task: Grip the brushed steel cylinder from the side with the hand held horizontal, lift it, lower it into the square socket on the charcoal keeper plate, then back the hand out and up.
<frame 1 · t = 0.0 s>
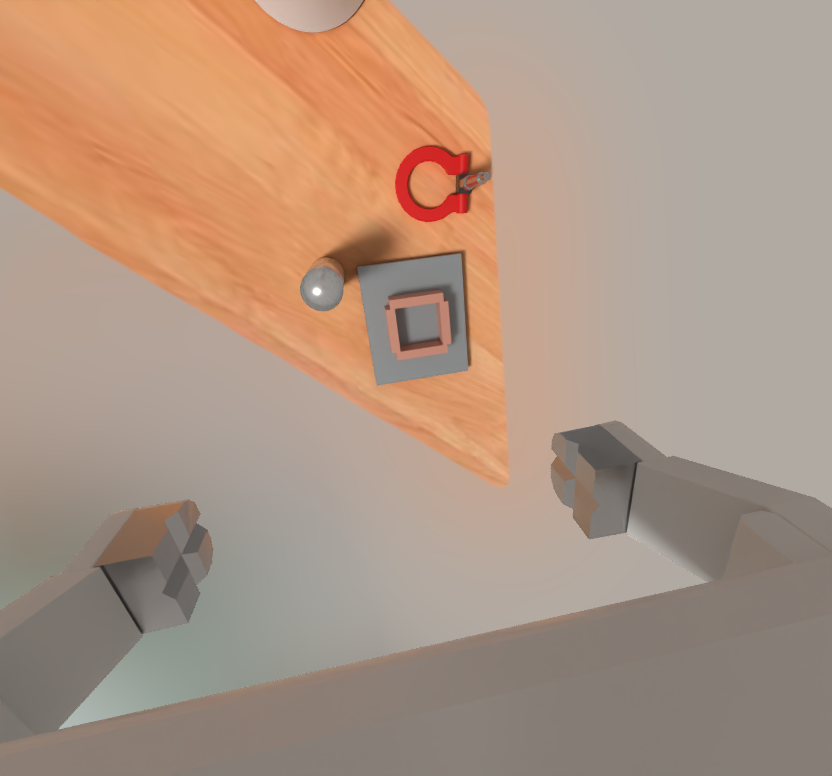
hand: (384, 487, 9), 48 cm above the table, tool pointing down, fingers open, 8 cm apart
brushed steel cylinder: (327, 274, 53), on the table
keeper: (415, 320, 57), on the table
tow hook: (431, 186, 51), on the table
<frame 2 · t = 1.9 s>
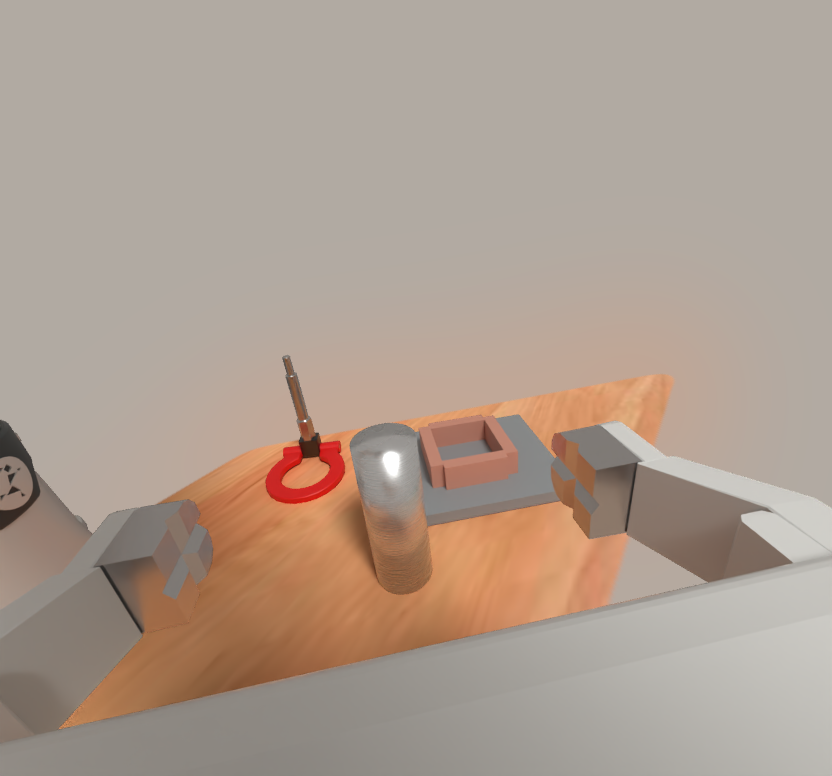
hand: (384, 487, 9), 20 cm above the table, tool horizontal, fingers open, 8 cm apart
brushed steel cylinder: (404, 569, 31), on the table
keeper: (466, 468, 42), on the table
tow hook: (308, 476, 44), on the table
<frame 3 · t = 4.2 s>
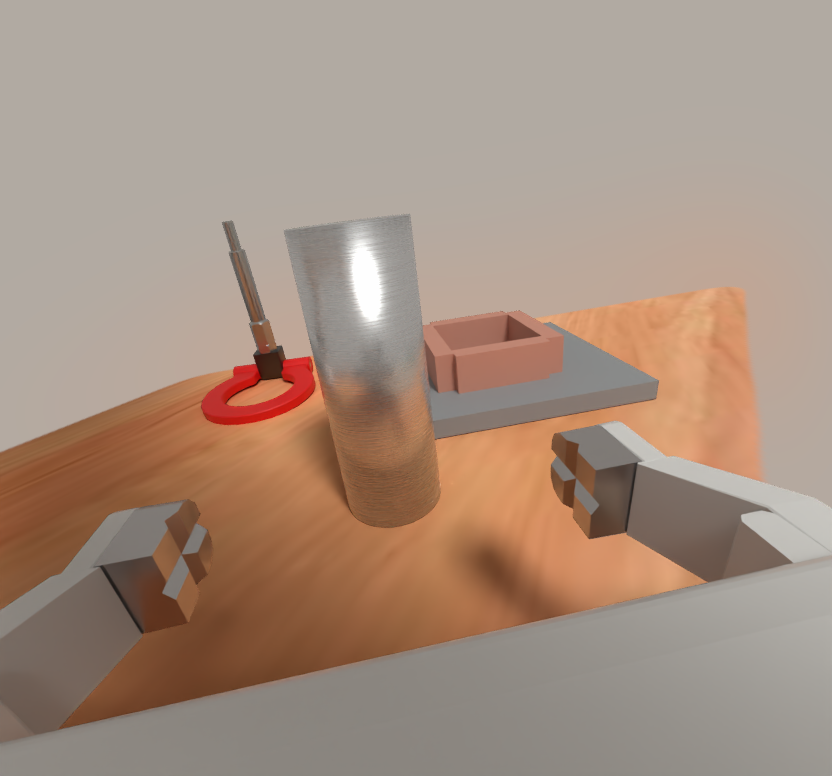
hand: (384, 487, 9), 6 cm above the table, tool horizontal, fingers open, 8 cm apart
brushed steel cylinder: (394, 493, 19), on the table
keeper: (484, 378, 30), on the table
tow hook: (265, 398, 32), on the table
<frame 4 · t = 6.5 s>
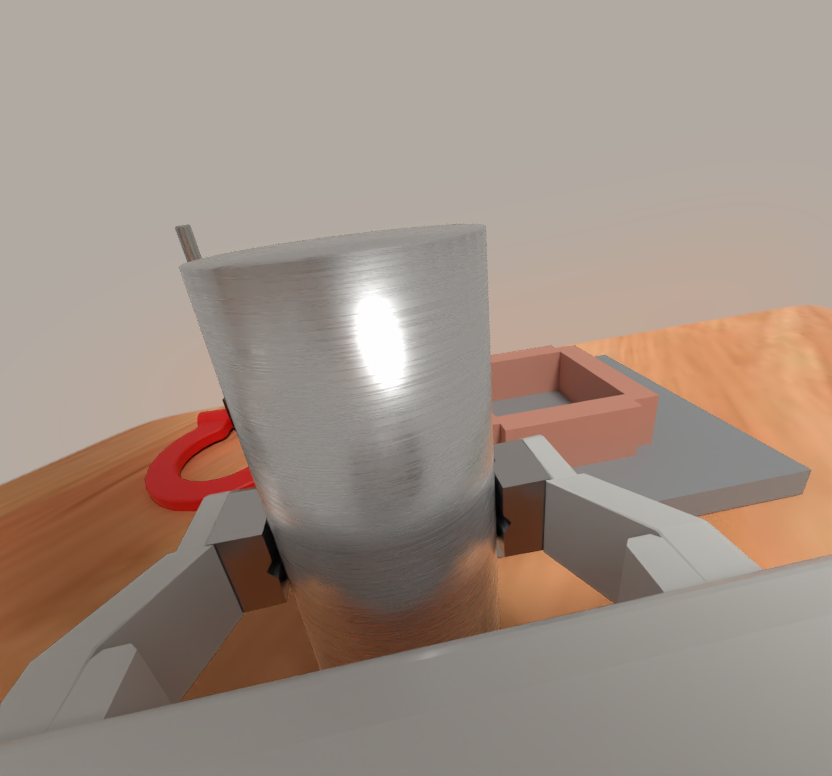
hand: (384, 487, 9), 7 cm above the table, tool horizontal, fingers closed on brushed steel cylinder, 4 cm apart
brushed steel cylinder: (421, 697, 11), on the table, touching gripper
keeper: (532, 440, 22), on the table
tow hook: (235, 460, 24), on the table
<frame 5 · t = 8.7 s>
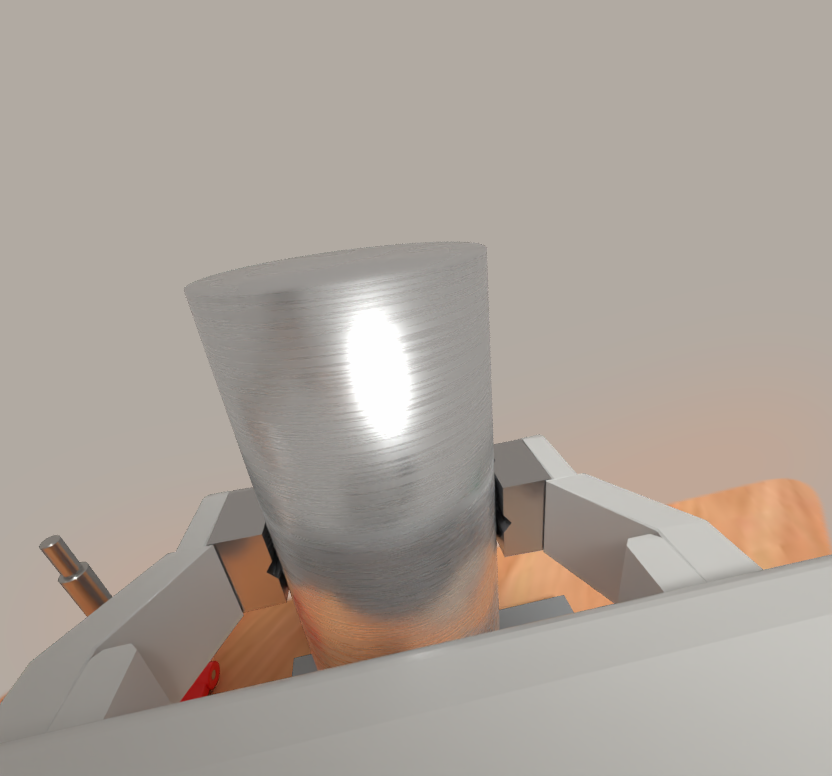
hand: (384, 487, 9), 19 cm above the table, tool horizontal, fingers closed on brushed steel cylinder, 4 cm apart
brushed steel cylinder: (422, 705, 11), point 12 cm above the table, touching gripper
tow hook: (129, 774, 21), on the table
when the fingers open (9 cm above the table, at t = 11.1 s): brushed steel cylinder stays where it is, resting on keeper.
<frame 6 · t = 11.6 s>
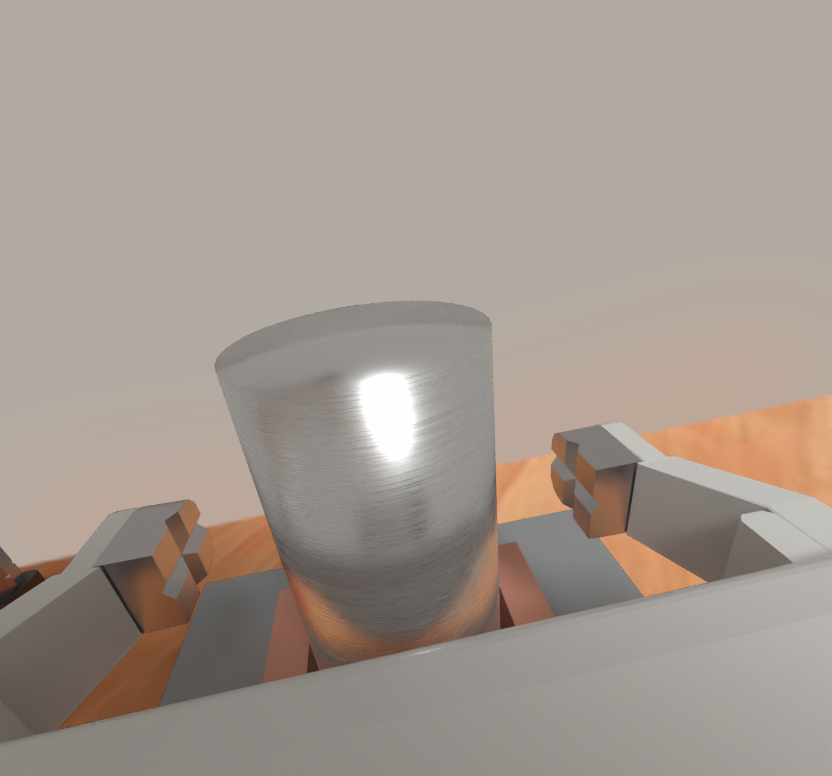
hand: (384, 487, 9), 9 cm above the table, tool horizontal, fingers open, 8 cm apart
brushed steel cylinder: (426, 727, 12), point 1 cm above the table, touching keeper
keeper: (430, 745, 12), on the table
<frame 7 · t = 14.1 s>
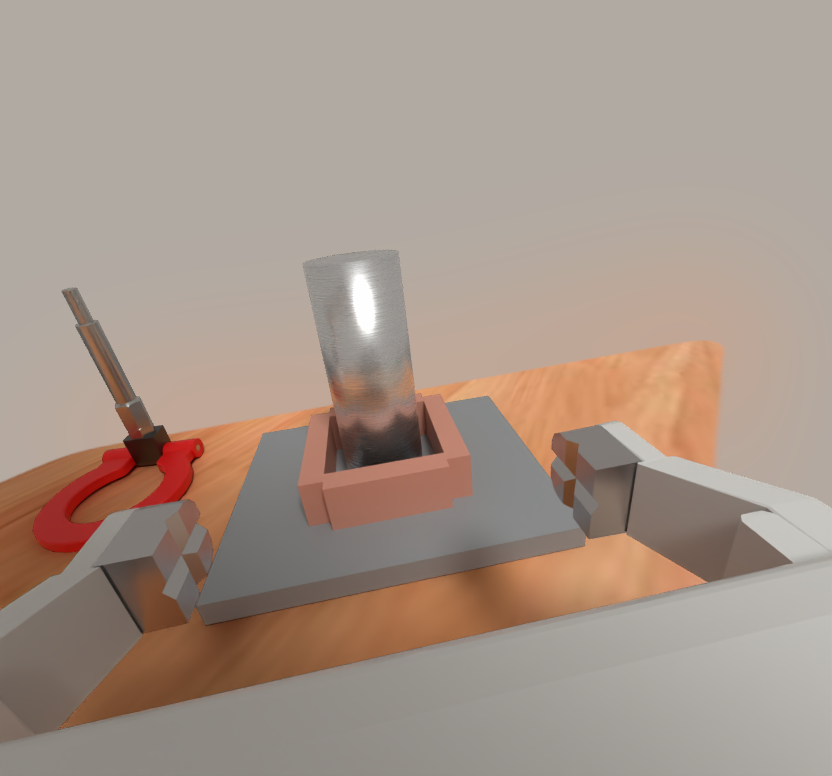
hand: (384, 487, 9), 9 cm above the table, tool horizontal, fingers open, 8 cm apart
brushed steel cylinder: (386, 469, 23), point 1 cm above the table, touching keeper
keeper: (389, 485, 24), on the table
tow hook: (129, 499, 26), on the table
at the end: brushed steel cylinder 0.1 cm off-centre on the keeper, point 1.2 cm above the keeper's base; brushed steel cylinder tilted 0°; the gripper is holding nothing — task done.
